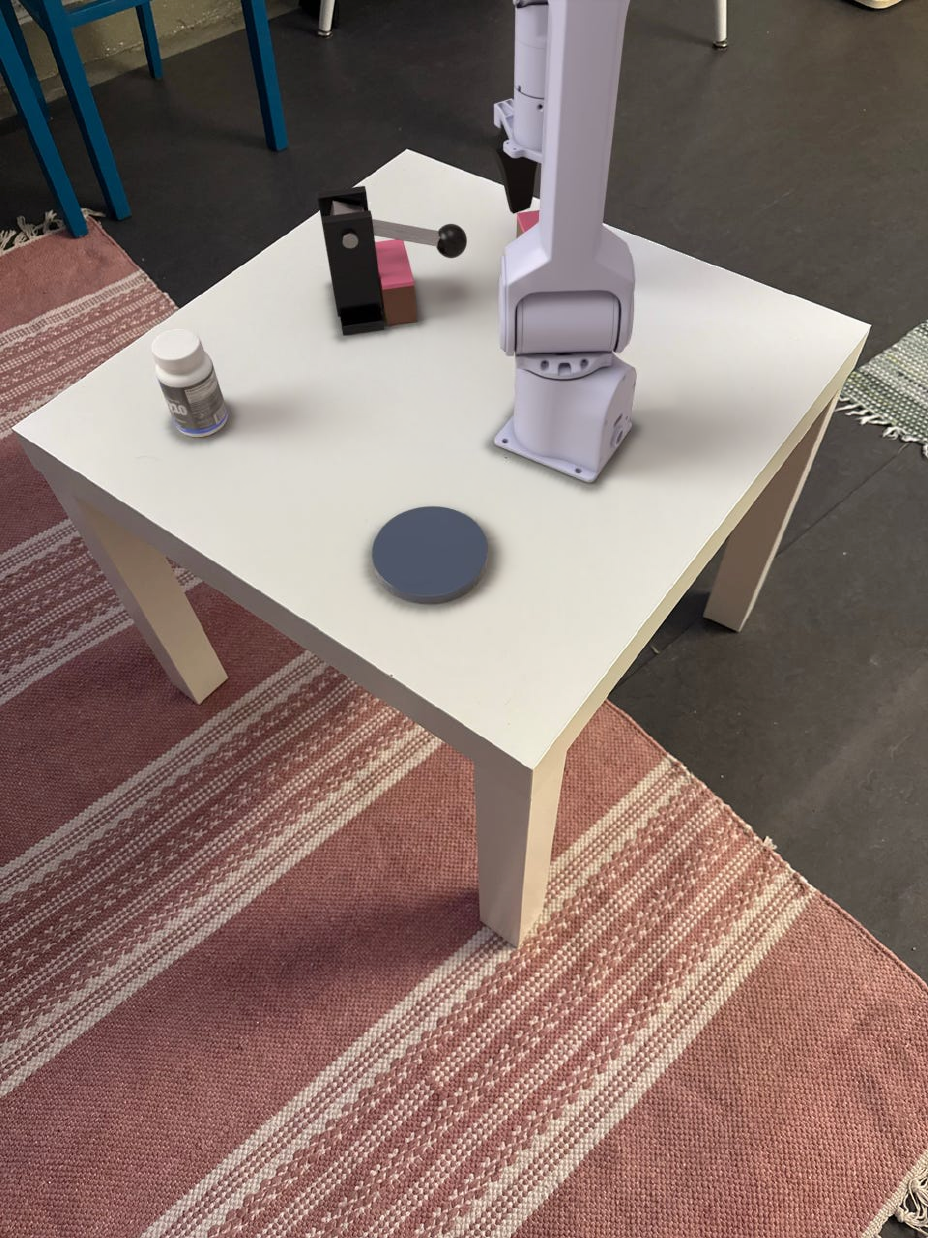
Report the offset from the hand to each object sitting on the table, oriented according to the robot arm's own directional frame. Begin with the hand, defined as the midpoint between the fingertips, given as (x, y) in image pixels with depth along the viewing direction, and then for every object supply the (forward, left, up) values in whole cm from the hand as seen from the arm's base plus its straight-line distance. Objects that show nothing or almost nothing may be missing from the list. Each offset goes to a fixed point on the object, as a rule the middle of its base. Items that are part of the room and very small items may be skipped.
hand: (540, 227), depth 90 cm
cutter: (+9, +12, +2) cm, 15 cm away
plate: (-11, +38, -4) cm, 40 cm away
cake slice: (0, 0, -4) cm, 4 cm away
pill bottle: (+15, +35, -4) cm, 38 cm away
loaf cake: (+9, +13, -4) cm, 16 cm away
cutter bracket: (+12, +15, -4) cm, 20 cm away
